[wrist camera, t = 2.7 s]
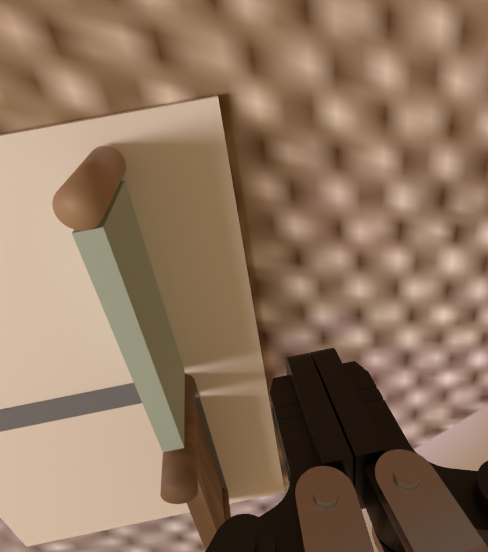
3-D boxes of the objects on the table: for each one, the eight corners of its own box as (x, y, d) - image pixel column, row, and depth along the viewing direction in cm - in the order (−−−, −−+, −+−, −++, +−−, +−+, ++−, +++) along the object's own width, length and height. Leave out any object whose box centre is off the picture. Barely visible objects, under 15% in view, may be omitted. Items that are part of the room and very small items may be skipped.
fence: (191, 370, 28) (193, 478, 21) (230, 497, 36) (240, 603, 29) (163, 376, 28) (156, 486, 21) (208, 501, 36) (213, 609, 29)
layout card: (217, 94, 20) (218, 96, 19) (283, 485, 37) (285, 493, 37) (-279, 184, 19) (-295, 189, 18) (28, 539, 36) (25, 547, 36)
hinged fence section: (119, 142, 19) (94, 179, 14) (188, 370, 27) (189, 446, 22) (82, 149, 19) (44, 188, 14) (163, 375, 27) (157, 453, 22)
